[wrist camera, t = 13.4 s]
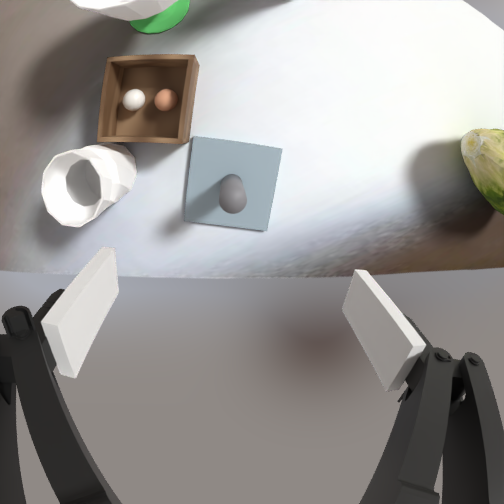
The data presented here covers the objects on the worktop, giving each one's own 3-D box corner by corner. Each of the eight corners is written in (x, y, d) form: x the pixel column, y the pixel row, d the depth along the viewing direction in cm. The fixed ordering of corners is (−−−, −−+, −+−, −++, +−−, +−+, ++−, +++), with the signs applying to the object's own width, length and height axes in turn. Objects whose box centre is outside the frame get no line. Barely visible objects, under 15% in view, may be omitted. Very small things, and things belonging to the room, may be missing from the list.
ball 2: (156, 111, 33) (150, 110, 31) (159, 90, 32) (153, 87, 29) (178, 112, 34) (173, 110, 31) (180, 90, 32) (177, 87, 30)
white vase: (144, 148, 36) (111, 158, 25) (130, 206, 39) (98, 236, 28) (91, 136, 34) (46, 144, 23) (80, 192, 38) (38, 217, 27)
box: (114, 139, 35) (96, 142, 29) (123, 65, 31) (107, 57, 25) (189, 141, 36) (182, 144, 31) (199, 65, 32) (194, 54, 27)
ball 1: (125, 111, 33) (118, 110, 30) (128, 90, 31) (121, 88, 29) (146, 111, 33) (139, 110, 30) (149, 90, 32) (142, 87, 29)
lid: (184, 218, 41) (173, 245, 32) (194, 136, 36) (184, 138, 27) (266, 228, 43) (276, 257, 34) (281, 148, 38) (298, 154, 29)
